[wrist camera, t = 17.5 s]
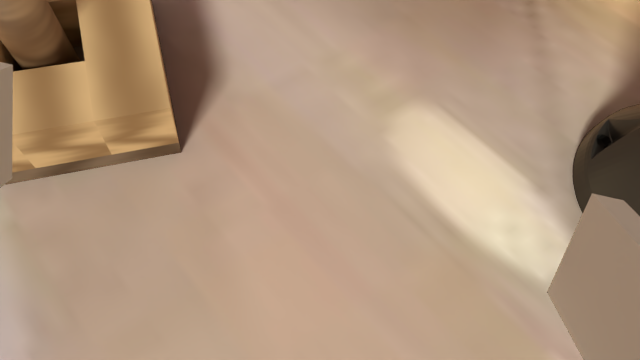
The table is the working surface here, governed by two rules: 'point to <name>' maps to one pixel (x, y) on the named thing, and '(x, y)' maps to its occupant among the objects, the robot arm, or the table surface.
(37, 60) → the pin
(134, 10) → the socket block
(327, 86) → the table surface
